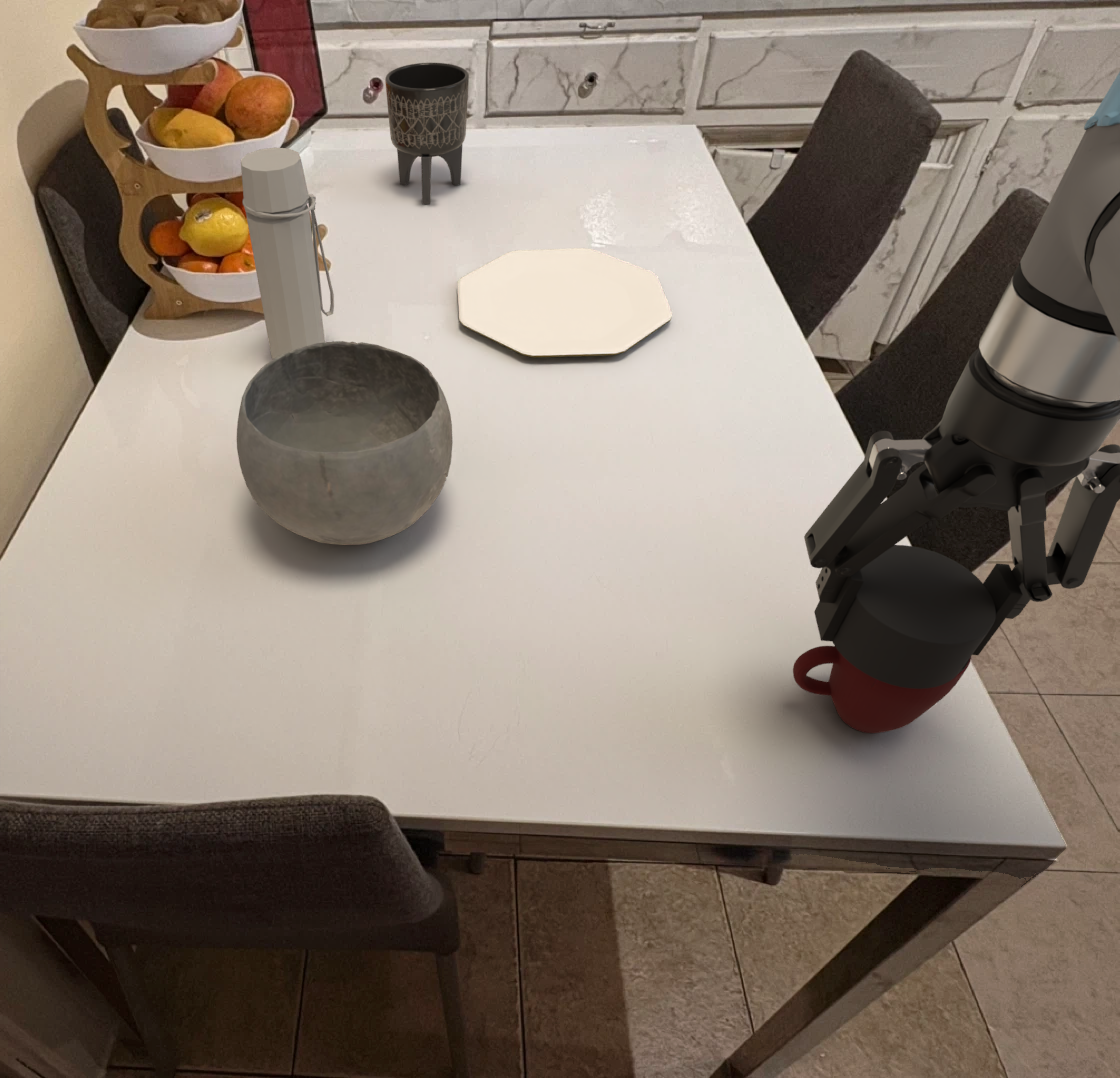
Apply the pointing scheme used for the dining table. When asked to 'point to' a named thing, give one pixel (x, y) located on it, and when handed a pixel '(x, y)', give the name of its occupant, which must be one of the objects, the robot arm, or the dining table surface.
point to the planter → (428, 118)
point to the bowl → (344, 441)
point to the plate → (562, 302)
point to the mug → (866, 692)
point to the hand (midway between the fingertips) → (894, 632)
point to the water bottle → (284, 248)
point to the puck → (915, 618)
